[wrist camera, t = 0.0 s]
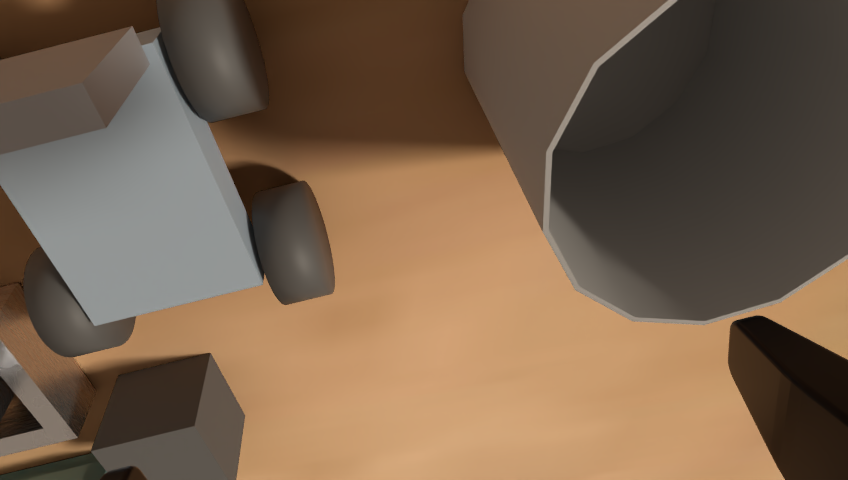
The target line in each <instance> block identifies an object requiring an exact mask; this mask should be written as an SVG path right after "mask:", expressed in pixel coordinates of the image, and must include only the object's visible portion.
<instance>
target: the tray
mask: <svg viewBox="0 0 848 480" xmlns="http://www.w3.org/2000/svg"><path fill="white" fill-rule="evenodd" d="M105 473H107V471H106V470H105V469H104V467H103V466H102V465H101V464H100V462H99V461H98V460H97V459H96V457H95V456H94V455H93V454H92V453H91V454H87V455H83V456H79V457H74V458H70V459H66V460H62V461H58V462H54V463H50V464H45V465H41V466H37V467H33V468H29V469H25V470H21V471H16V472H12V473H8V474H4V475H0V480H100V478H101V477H102V476H103V475H104V474H105Z"/></svg>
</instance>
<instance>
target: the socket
mask: <svg viewBox="0 0 848 480" xmlns="http://www.w3.org/2000/svg"><path fill="white" fill-rule="evenodd" d="M0 376H1V377H2V378H3V380H4V381H5V382H6V383H7V384H8V386H9V387H10V388H11V389H12V390H13V392H14V393H15V395H14V397H13V399H12V401H11V403H10V405H9V406H8V408H7V410H6V412H5V414H4V416H3V418H2V420H1V421H0V457H1V456H5V455H9V454H13V453H17V452H21V451H26V450H30V449H34V448H38V447H42V446H46V445H50V444H55V443H59V442H63V441H67V440H71V439H75V438H78V436H79V434H80V431H81V429H82V426H83V424H84V421H85V419H86V416H87V414H88V411H89V409H90V406H91V404H92V401H93V399H94V396H95V394H96V389H95V388H94V387H93V385H92V384H91V382H90V381H89V380H88V378H87V377H86V375H85V374H84V373H83V371H82V370H81V369H80V367H79V366H78V364H77V363H76V362H75V360H74V359H73V357H63V356H60V355H58V354H56V353H55V352H53V351H52V350H51V349H50V348H49V347H47V346H46V345H45V343H44V342H43V341H42V340H41V338H40V337H39V335H38V334H37V332H36V330H35V328H34V327H33V324H32V322H31V320H30V317H29V314H28V311H27V307H26V303H25V297H24V289H23V288H22V287H21V285H20V284H19V283H14V284H10V285H6V286H2V287H0Z"/></svg>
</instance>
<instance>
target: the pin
mask: <svg viewBox="0 0 848 480" xmlns="http://www.w3.org/2000/svg"><path fill="white" fill-rule="evenodd" d="M14 395H15V393H14V392H13V390H12V389H11V388H10V387H9V386H8V384H7V383H6V382H5V381H4V380H3V378H2V377H1V376H0V421H1V420H2V418H3V416H4V414H5V412H6V410H7V408H8V406H9V405H10V403H11V401H12V399H13V397H14Z"/></svg>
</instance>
